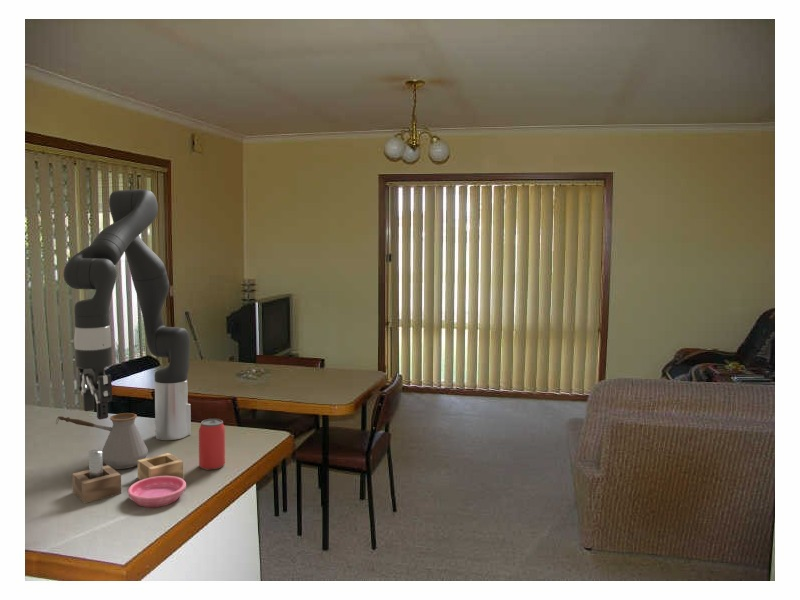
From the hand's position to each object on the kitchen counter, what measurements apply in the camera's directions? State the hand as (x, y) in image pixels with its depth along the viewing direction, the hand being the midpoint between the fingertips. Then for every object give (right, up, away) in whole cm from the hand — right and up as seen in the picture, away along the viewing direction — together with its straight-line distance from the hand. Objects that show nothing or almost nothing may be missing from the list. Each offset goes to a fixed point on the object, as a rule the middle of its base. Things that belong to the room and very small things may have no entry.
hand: (95, 414), depth 139 cm
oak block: (+11, -18, +11) cm, 24 cm away
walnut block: (-1, -19, +2) cm, 19 cm away
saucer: (+14, -20, 0) cm, 24 cm away
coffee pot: (-7, -17, +18) cm, 26 cm away
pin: (-1, -19, +2) cm, 19 cm away
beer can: (+21, -18, +20) cm, 34 cm away
